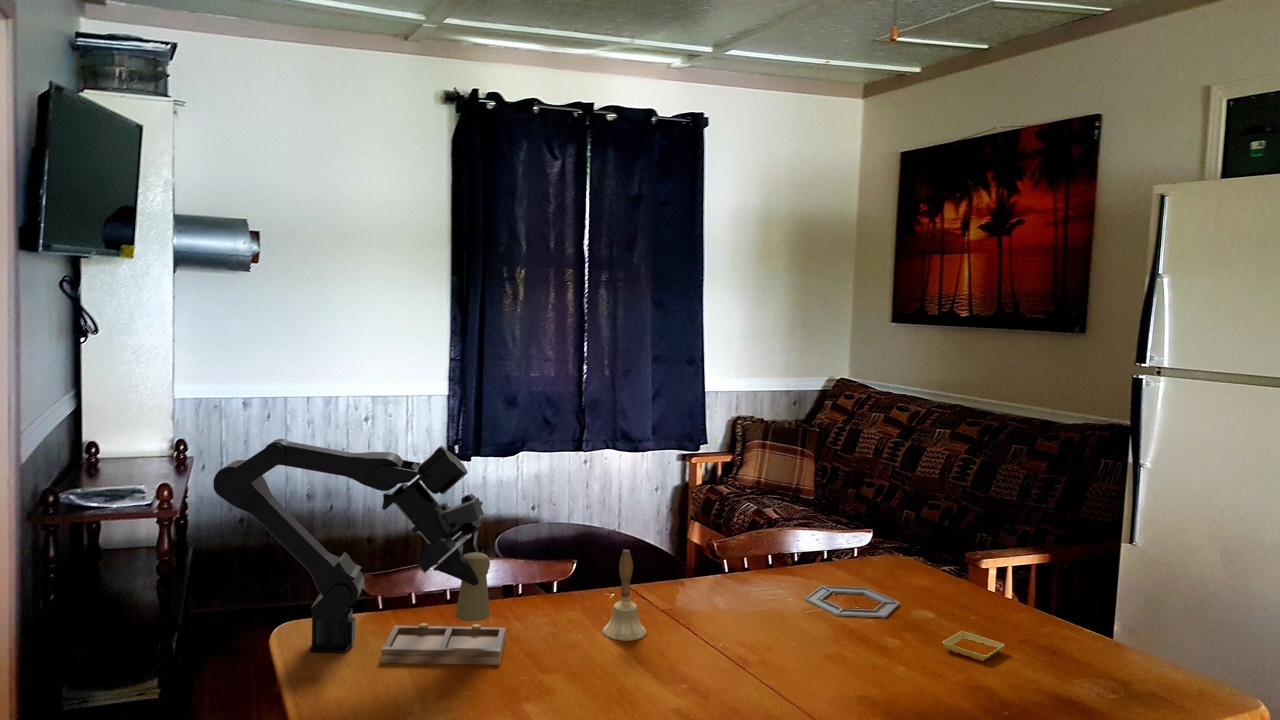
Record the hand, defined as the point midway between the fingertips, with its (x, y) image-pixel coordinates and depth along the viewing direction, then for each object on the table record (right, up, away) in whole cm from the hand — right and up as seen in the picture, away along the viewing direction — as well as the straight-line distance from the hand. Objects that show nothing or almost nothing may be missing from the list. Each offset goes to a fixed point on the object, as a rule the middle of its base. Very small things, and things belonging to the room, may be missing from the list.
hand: (481, 579), depth 166 cm
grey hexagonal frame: (+73, -14, +36) cm, 82 cm away
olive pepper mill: (-2, -7, +1) cm, 7 cm away
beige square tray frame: (+90, -17, +11) cm, 92 cm away
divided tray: (-7, -13, +1) cm, 14 cm away
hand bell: (+25, -13, +13) cm, 31 cm away
